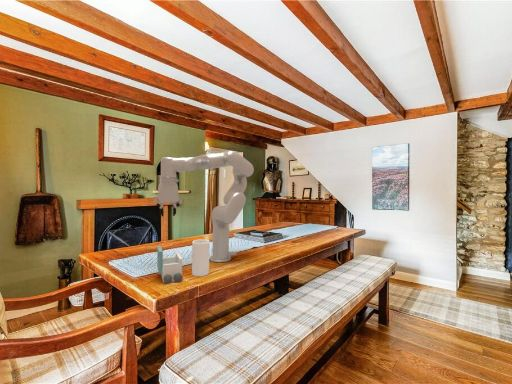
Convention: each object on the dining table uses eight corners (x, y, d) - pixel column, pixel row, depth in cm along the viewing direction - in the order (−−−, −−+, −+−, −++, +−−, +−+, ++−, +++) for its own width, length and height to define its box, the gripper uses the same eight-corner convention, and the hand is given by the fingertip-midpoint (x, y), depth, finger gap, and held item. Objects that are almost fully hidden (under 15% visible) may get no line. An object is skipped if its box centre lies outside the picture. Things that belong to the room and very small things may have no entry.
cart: (177, 271, 128) (177, 251, 128) (182, 281, 115) (182, 259, 115) (160, 273, 125) (161, 253, 125) (163, 284, 112) (163, 261, 112)
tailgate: (160, 266, 123) (160, 246, 123) (162, 273, 113) (162, 251, 113) (157, 266, 122) (157, 246, 122) (159, 274, 113) (159, 251, 112)
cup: (193, 270, 130) (193, 239, 130) (209, 270, 131) (210, 239, 130) (190, 276, 122) (191, 243, 121) (208, 276, 123) (208, 243, 122)
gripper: (184, 181, 139) (183, 214, 140) (150, 180, 132) (150, 215, 133) (186, 181, 133) (186, 216, 133) (151, 180, 125) (150, 217, 126)
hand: (168, 215), depth 133 cm, fingers open, 5 cm apart
